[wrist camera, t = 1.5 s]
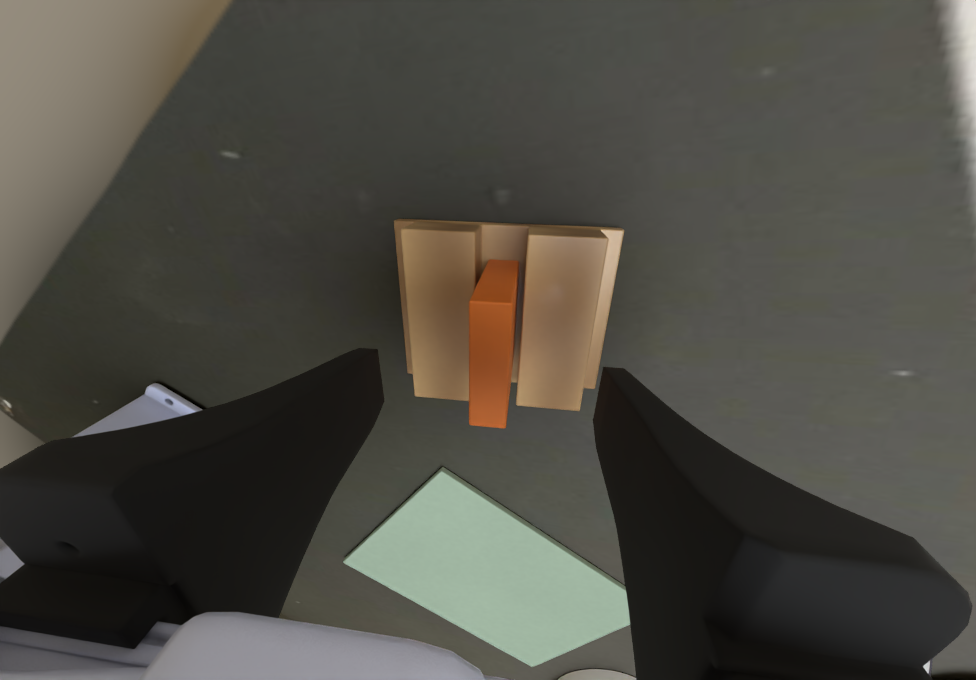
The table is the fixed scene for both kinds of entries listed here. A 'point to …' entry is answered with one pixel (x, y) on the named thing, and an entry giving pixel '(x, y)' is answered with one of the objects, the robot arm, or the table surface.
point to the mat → (491, 572)
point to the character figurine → (596, 675)
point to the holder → (540, 304)
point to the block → (492, 343)
